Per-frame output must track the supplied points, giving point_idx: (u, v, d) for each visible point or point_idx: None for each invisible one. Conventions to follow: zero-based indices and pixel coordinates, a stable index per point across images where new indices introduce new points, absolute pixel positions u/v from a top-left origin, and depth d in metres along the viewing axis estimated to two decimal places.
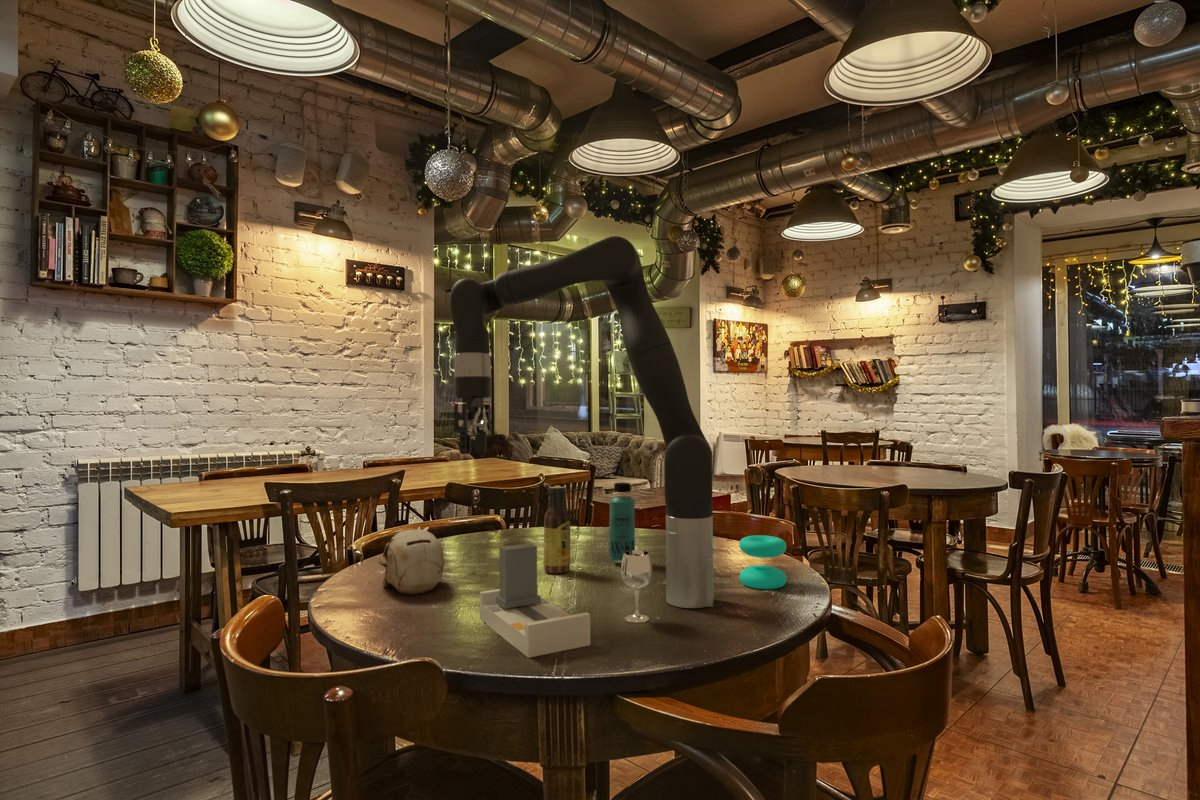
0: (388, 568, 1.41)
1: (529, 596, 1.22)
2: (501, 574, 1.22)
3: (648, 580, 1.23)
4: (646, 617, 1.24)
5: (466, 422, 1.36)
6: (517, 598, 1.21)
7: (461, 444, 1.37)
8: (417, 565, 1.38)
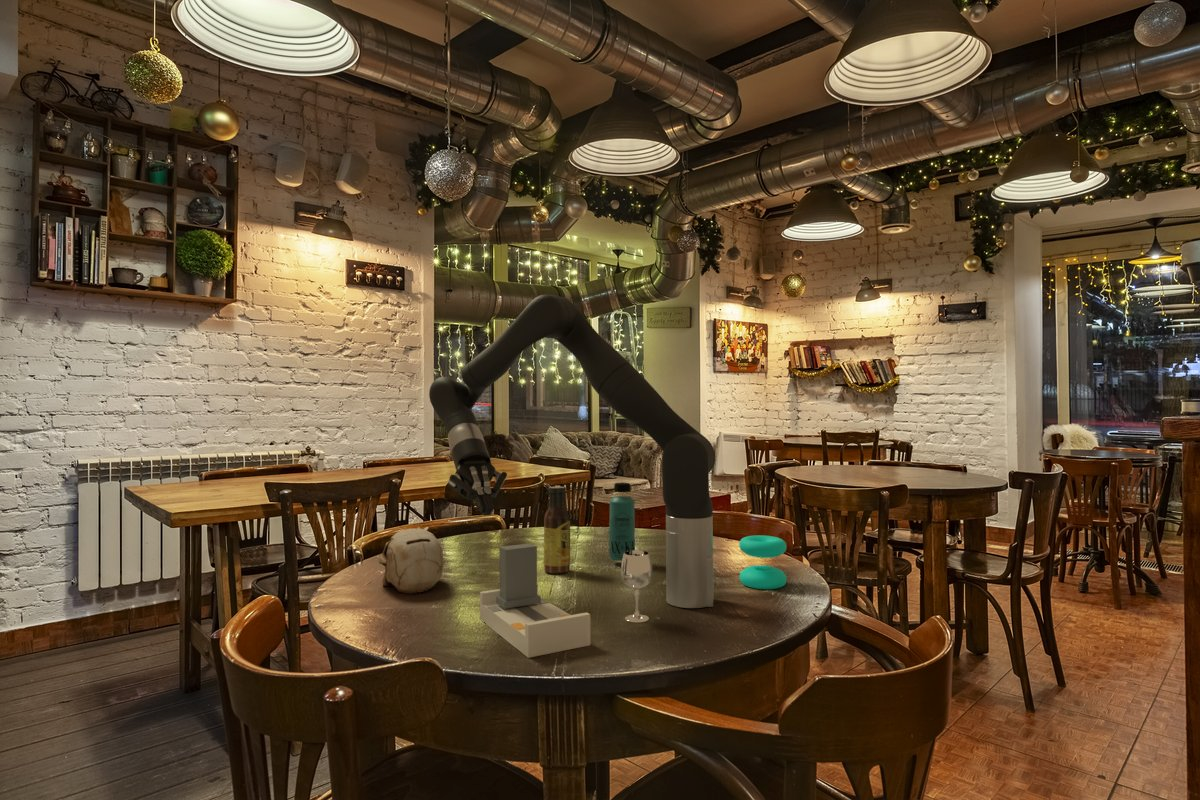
0: (388, 567, 1.42)
1: (529, 596, 1.22)
2: (501, 574, 1.22)
3: (648, 580, 1.23)
4: (646, 617, 1.24)
5: (466, 486, 1.38)
6: (517, 598, 1.21)
7: (478, 506, 1.37)
8: (416, 564, 1.39)
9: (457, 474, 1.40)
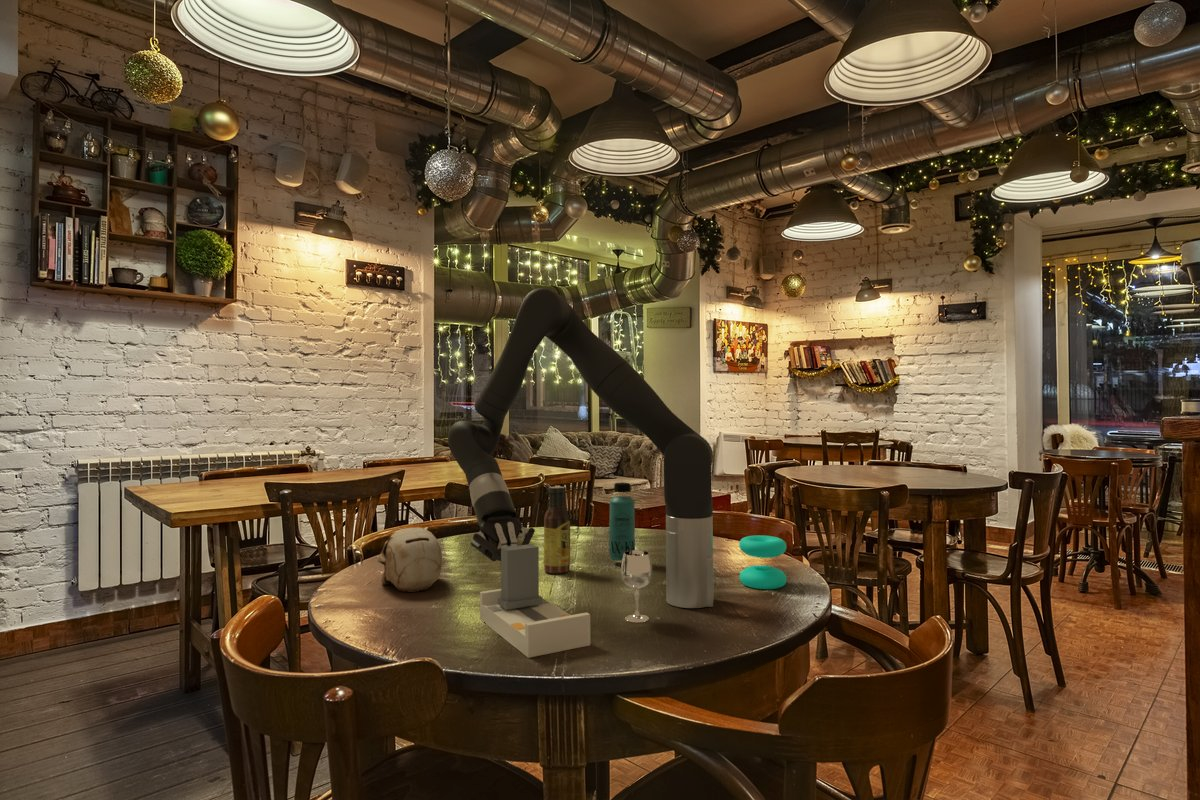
0: (387, 566, 1.43)
1: (531, 597, 1.22)
2: (503, 575, 1.21)
3: (648, 580, 1.23)
4: (646, 617, 1.24)
5: (491, 546, 1.25)
6: (519, 599, 1.20)
7: None
8: (416, 563, 1.41)
9: (481, 532, 1.28)
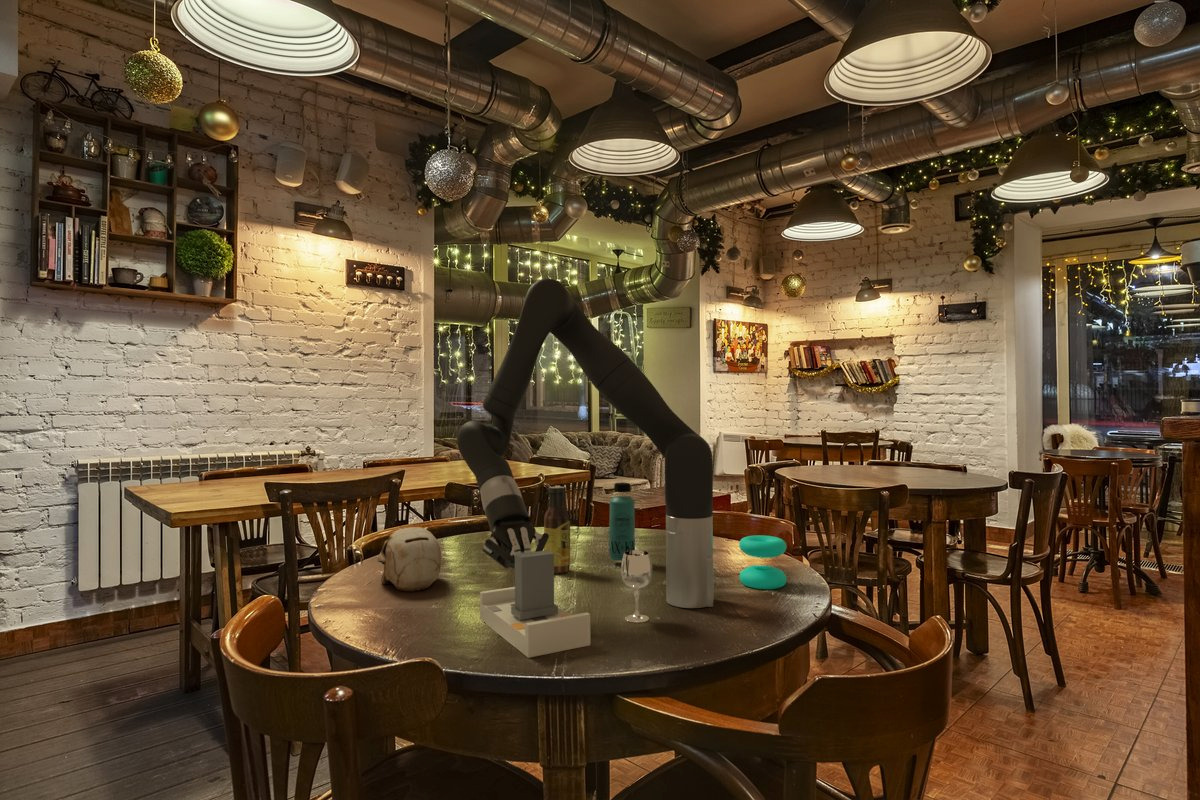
0: (387, 565, 1.43)
1: (546, 606, 1.16)
2: (516, 583, 1.16)
3: (648, 580, 1.23)
4: (646, 617, 1.24)
5: (504, 552, 1.20)
6: (533, 608, 1.15)
7: None
8: (415, 563, 1.41)
9: (493, 538, 1.22)
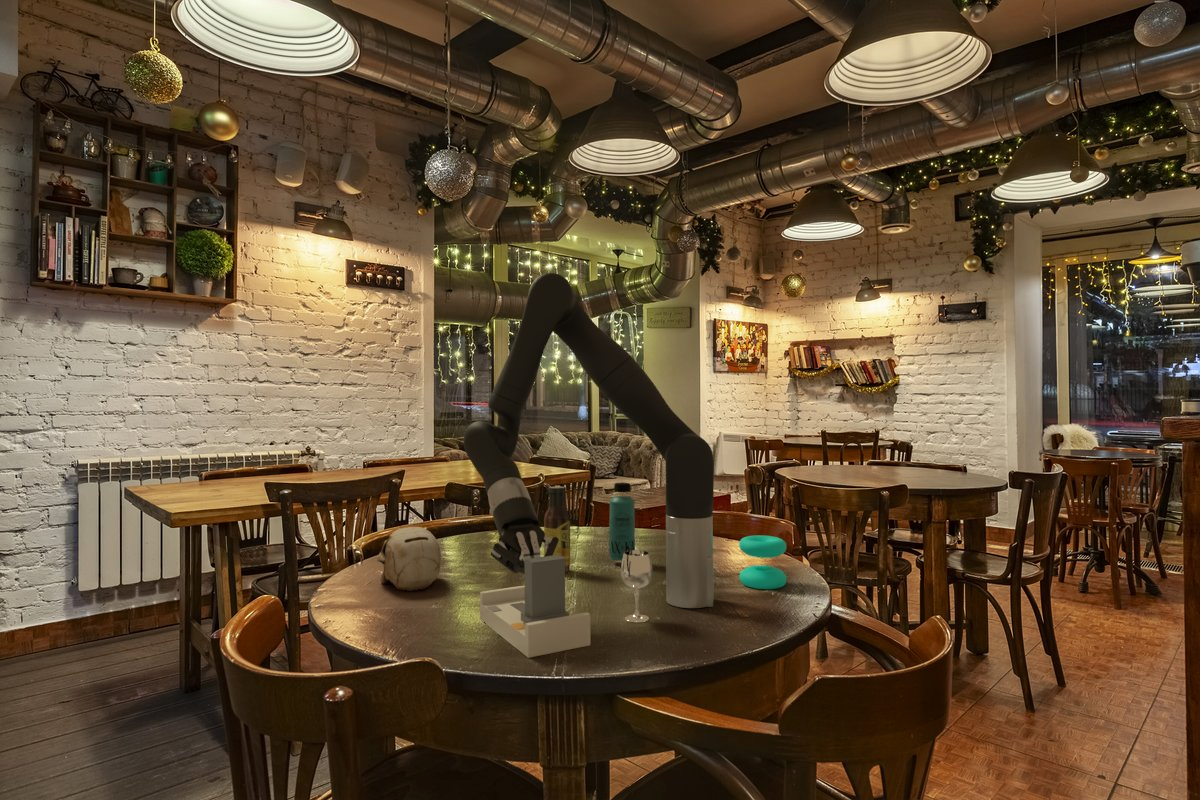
0: (386, 565, 1.44)
1: (557, 613, 1.12)
2: (526, 589, 1.12)
3: (648, 580, 1.23)
4: (646, 617, 1.24)
5: (513, 557, 1.16)
6: (544, 615, 1.11)
7: None
8: (415, 562, 1.41)
9: (501, 542, 1.19)
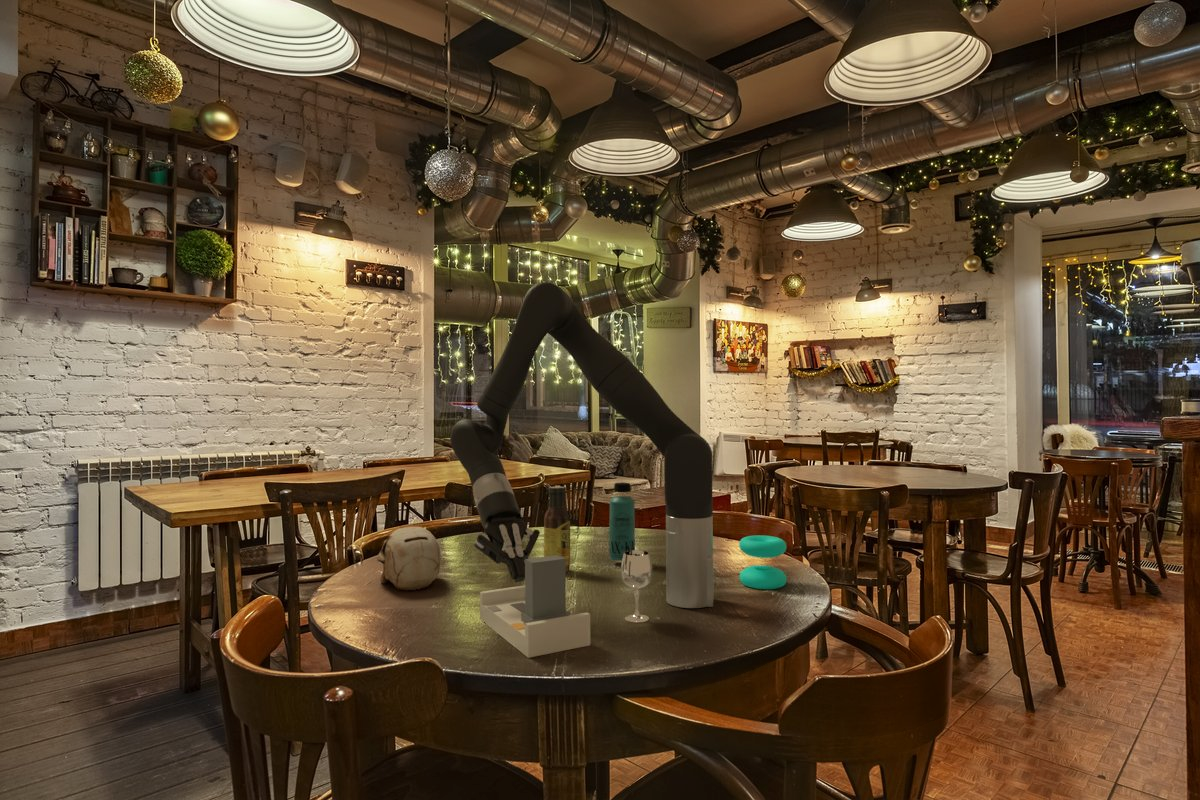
0: (386, 564, 1.44)
1: (557, 613, 1.12)
2: (527, 589, 1.12)
3: (648, 580, 1.23)
4: (646, 617, 1.24)
5: (496, 548, 1.23)
6: (544, 615, 1.11)
7: (509, 572, 1.22)
8: (414, 562, 1.42)
9: (485, 533, 1.25)
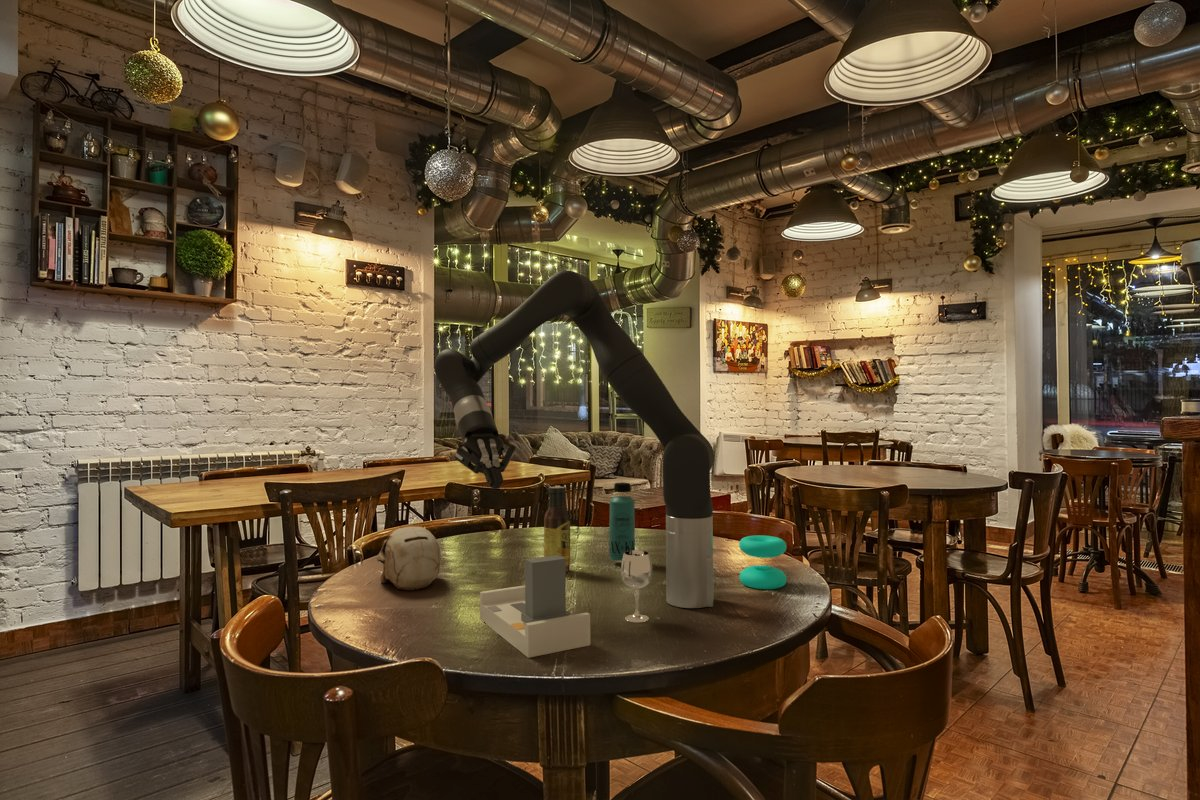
0: (386, 564, 1.44)
1: (557, 613, 1.12)
2: (527, 589, 1.12)
3: (648, 580, 1.23)
4: (646, 617, 1.24)
5: (474, 459, 1.33)
6: (544, 615, 1.11)
7: (487, 480, 1.32)
8: (414, 562, 1.42)
9: (464, 447, 1.35)
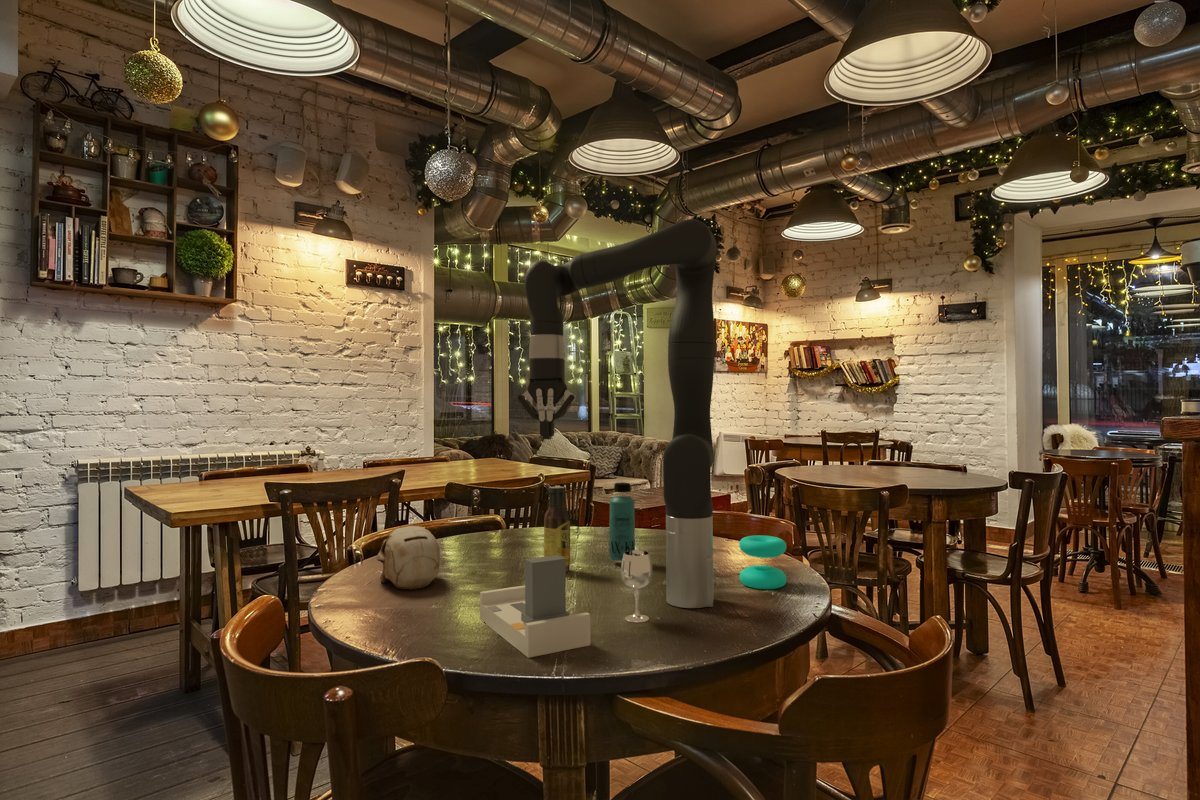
0: (386, 564, 1.45)
1: (557, 613, 1.12)
2: (527, 589, 1.12)
3: (648, 580, 1.23)
4: (646, 617, 1.24)
5: (530, 410, 1.44)
6: (544, 615, 1.11)
7: None
8: (414, 561, 1.42)
9: (527, 392, 1.44)
